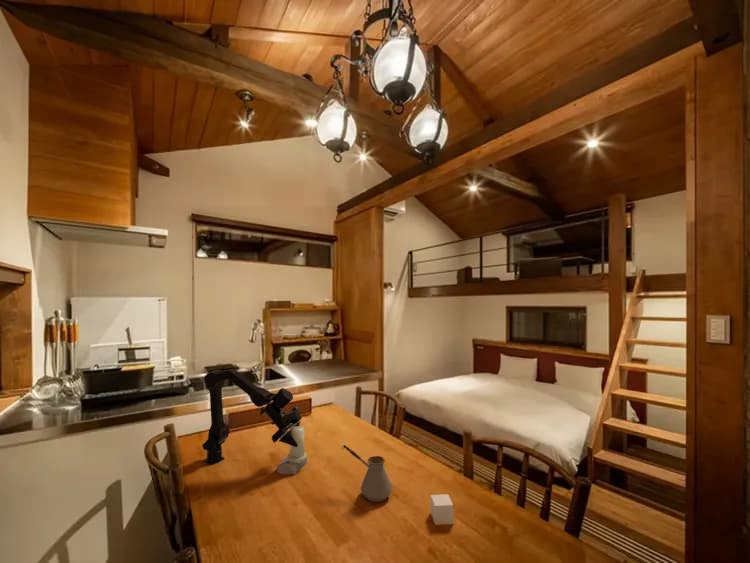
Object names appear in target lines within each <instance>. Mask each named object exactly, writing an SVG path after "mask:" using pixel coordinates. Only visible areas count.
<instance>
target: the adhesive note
mask: <svg viewBox="0 0 750 563" xmlns="http://www.w3.org/2000/svg"><path fill="white" fill-rule="evenodd" d="M430 514H431V518H432V520H433V522H434V525H436V526H437V525H438V526H439V525H441V526H442V525H454V504H453V502H452V500H451V498H450V496H449V494H448V493H445V494H430Z"/></svg>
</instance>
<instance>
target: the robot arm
mask: <svg viewBox="0 0 750 563" xmlns="http://www.w3.org/2000/svg"><path fill="white" fill-rule="evenodd" d="M203 380H204V385H205V388H206V389H207V390H208V392H209V403H210V404H209V406H210V423H211V425H210V427H209V429H208V433H207V434H208V436H207V440H205V442H204V443H203V444H202V449H203V450H204V451H206V458H204V459H203V462H205V463H206V464H209V465H214V464H217V463H218V462H221V461H223V460H225V457H224V456H223V455H222V454H223V448H222V447H223V446H222V445H223V444H224V443H225V442H226V440H227V439H228V438H229V434H230V433H231V432H230V429H229V428H230V425H229V424H226V422H224V408H223V394H222V393H223V392H222V389H223V387H224V384H225V381H226V380H228V381H230V382H232V384H234V385H235V386H236V387H238V388H239V389H240V390H241V391H243V392H244V393H245V394H247V395H248V397H249V400H250V401H251V403H252V404H254V406H255V407H257V408H260V412H259V413H260V416H263V415H264V414H266V416H267V417H268V418H269V419H270V420H271V421H272V422H271V425H272V426H274V425H275V426H276V428H277V429H278V430H277V431H276V432H274V433H273V434H272V436H271V441H272V443H274V444H275V443H277V442H278V443H283V444H287V445H289V446H290V445H291V446H294V447H297V446H298V444H297V443H296V441H295V440H294V438H293V437H292V435H291V428H292V427H296V426H301V420H302V419H303V417H302V416H301V413H300V412H301V409H300V408H299V407H298V406H294V407H292V409H291V411H289V412H287V410H284V411H283V409H284V408H285V407H286V406H288V405H289V403H290V402H292V400H294V396H293V394H292V392H291V391H290V390H287V389H285V388H284V387H282V388H279V390H278V392H277V393H274V392H271V391H269V390H268V389H266V388H264V387H261V386H258V385H256V384H254V383H253V382H252V381H250V380H249V379H248V378H246V377H245V376H244V375H242V374H241V373H240V372H239V371H238V370H237V368H231V369H226V370H222V369H216V370H213V371H210V372H207V373H206V374H205V375H204V379H203Z"/></svg>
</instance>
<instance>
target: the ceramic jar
mask: <svg viewBox="0 0 750 563" xmlns="http://www.w3.org/2000/svg"><path fill="white" fill-rule="evenodd" d="M291 435H292V437H293V438H294V440H295V441H296V443H297V444H298V446H297V447H294V446H291V445H289V453H288V454H287V456H286V457H287V460H288V462H290V463H300V462H303V461H305V460H306V458H307V457H308V455H307V452H305V427H304V426H301V425H300V426H296V427H292V428H291ZM307 459H308V458H307Z"/></svg>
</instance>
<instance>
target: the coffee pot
mask: <svg viewBox="0 0 750 563" xmlns="http://www.w3.org/2000/svg"><path fill="white" fill-rule="evenodd" d="M345 449H346V451H348V452H349V453H350V454H351V455H352V456H353V457H354V458H356V459H358V460H359V461H360V462H362V463H363V465H365V466H366V467H367V471H366V473H365V474H364V475H365V476H364V478H363V480H362V483H361V486H360V491H361V494H362V495H363V496H364V497H365V498H366V499H367V500H368V501H369V502H373V503H378V502H379V503H380V502H383V501H385V500H386V499H387V498H388V497H389V496H390V495H391V493H392V490H393V486H392V483H391V481H390V477H389V475H388V474H387V471H386V469H385V466H384V463H385V461H386V459H385V458H384V457H383V456H382V455H373V456H372V455H371V456H370V457H368V458H367V462H366V461H365V460H364V459H362V457H361V456H360V455H358V453H356V452H355V451H354V450H352V449H350V447H349V446H348V447H347V445H345V444H343V446H342V447H341V451H343V450H345Z"/></svg>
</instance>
